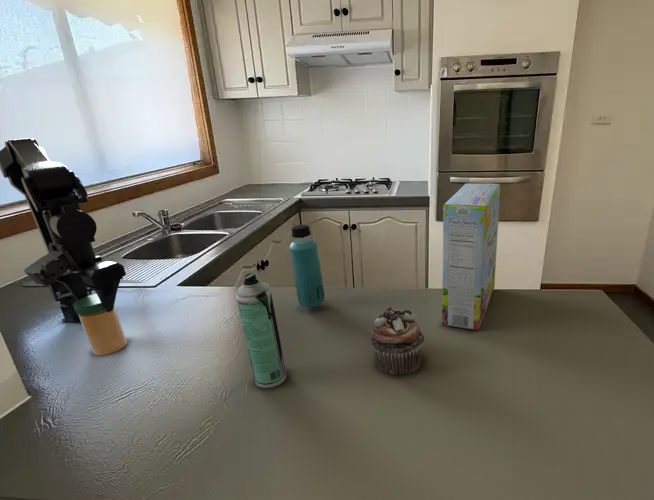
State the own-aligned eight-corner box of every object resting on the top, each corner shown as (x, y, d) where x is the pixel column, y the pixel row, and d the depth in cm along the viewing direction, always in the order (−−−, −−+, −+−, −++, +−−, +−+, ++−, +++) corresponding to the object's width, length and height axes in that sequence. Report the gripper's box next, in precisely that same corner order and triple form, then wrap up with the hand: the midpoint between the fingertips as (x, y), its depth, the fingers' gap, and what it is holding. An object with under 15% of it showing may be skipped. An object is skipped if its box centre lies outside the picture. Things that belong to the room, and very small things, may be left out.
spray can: (292, 371, 77) (273, 269, 69) (276, 390, 72) (254, 282, 64) (266, 367, 78) (245, 267, 71) (249, 385, 74) (224, 280, 66)
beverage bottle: (321, 313, 97) (309, 229, 89) (294, 312, 99) (280, 230, 91) (329, 301, 103) (319, 221, 95) (304, 300, 104) (291, 222, 97)
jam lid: (69, 317, 83) (66, 309, 82) (86, 302, 89) (83, 295, 89) (106, 312, 84) (103, 304, 83) (120, 298, 90) (117, 290, 89)
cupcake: (364, 373, 74) (359, 324, 70) (382, 345, 83) (379, 299, 79) (417, 382, 71) (415, 330, 67) (430, 351, 79) (429, 303, 75)
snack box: (483, 332, 84) (487, 205, 74) (440, 327, 87) (438, 204, 77) (497, 288, 102) (501, 181, 92) (461, 285, 105) (462, 181, 96)
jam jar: (107, 339, 94) (92, 296, 90) (133, 339, 93) (118, 296, 89) (85, 355, 88) (67, 310, 84) (113, 355, 87) (96, 310, 83)
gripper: (-4, 243, 78) (29, 318, 84) (49, 253, 70) (82, 335, 76) (60, 227, 87) (86, 295, 93) (114, 233, 78) (139, 308, 84)
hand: (96, 307), depth 86 cm, fingers open, 9 cm apart
